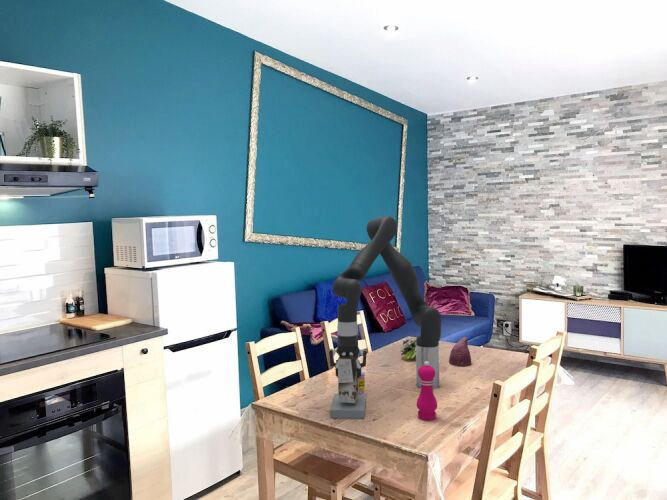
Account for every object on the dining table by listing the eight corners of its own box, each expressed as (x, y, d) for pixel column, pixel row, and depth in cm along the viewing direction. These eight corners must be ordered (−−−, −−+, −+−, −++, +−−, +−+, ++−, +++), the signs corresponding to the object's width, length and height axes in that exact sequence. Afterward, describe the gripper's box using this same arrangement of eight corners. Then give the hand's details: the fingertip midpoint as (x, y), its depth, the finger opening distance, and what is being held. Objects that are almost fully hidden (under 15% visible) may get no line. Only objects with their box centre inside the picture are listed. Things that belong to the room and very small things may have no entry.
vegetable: (472, 369, 243) (481, 339, 242) (465, 371, 234) (474, 341, 233) (452, 360, 249) (460, 331, 247) (444, 363, 240) (453, 333, 239)
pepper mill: (414, 413, 182) (414, 358, 181) (434, 412, 183) (433, 358, 182) (419, 421, 175) (419, 364, 174) (439, 420, 176) (439, 363, 174)
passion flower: (406, 367, 255) (408, 345, 261) (425, 366, 248) (428, 343, 254) (395, 359, 247) (398, 336, 253) (414, 358, 241) (417, 334, 247)
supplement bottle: (360, 398, 198) (359, 366, 197) (345, 395, 201) (344, 364, 200) (367, 393, 204) (367, 361, 203) (352, 390, 207) (352, 359, 206)
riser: (365, 402, 194) (365, 394, 194) (364, 418, 178) (364, 410, 178) (334, 401, 195) (334, 393, 195) (330, 418, 179) (330, 409, 179)
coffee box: (355, 403, 181) (354, 359, 180) (338, 402, 183) (337, 358, 182) (359, 394, 190) (358, 352, 189) (342, 393, 192) (341, 351, 190)
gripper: (367, 330, 188) (368, 374, 189) (329, 330, 189) (330, 374, 190) (367, 335, 180) (367, 381, 182) (326, 335, 182) (327, 380, 183)
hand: (348, 377), depth 186 cm, fingers closed on coffee box, 6 cm apart
